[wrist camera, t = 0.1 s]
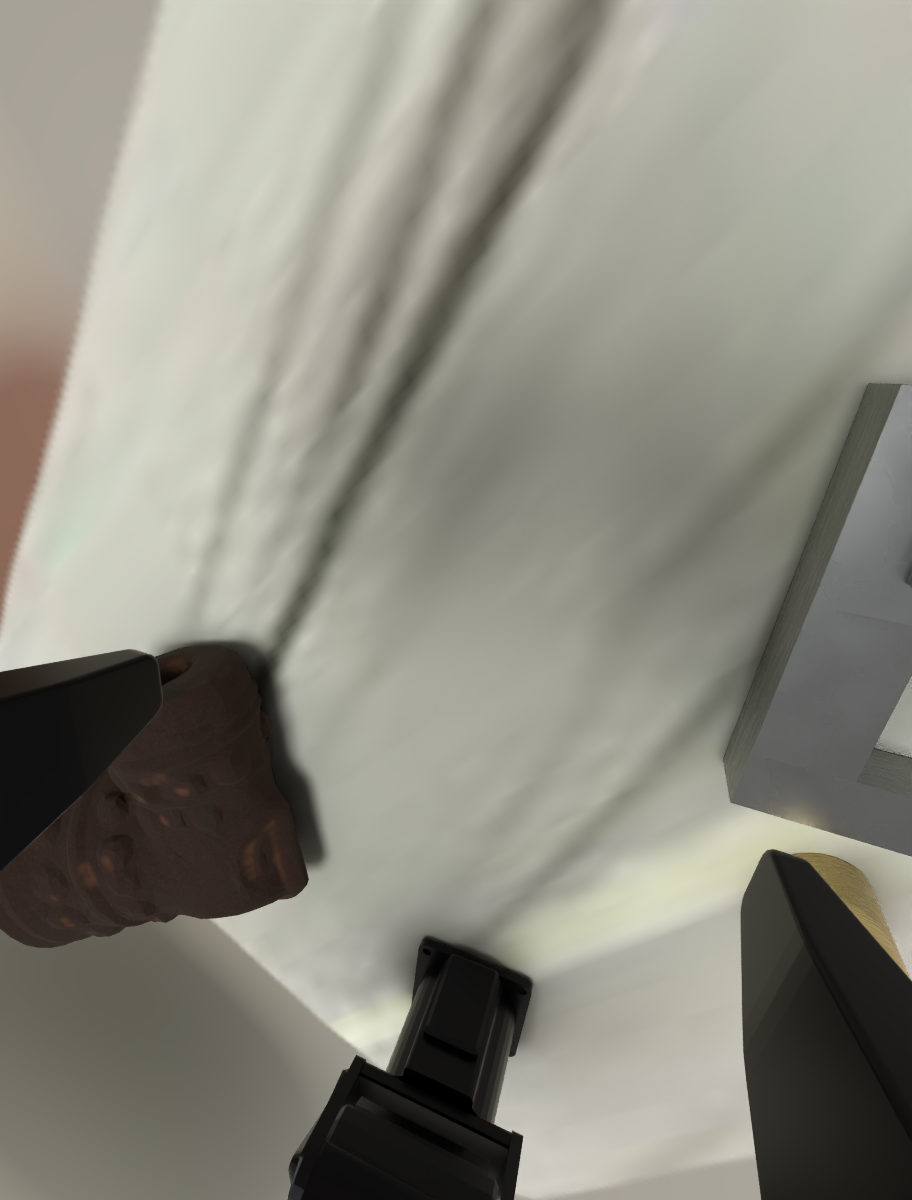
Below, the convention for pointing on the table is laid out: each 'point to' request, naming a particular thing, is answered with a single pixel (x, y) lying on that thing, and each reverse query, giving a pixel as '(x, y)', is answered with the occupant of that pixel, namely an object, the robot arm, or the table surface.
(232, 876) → the dark brown rounded lump
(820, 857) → the tan rectangular block
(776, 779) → the metal square frame
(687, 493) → the table surface
